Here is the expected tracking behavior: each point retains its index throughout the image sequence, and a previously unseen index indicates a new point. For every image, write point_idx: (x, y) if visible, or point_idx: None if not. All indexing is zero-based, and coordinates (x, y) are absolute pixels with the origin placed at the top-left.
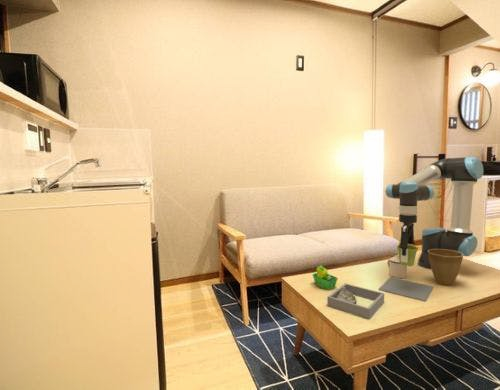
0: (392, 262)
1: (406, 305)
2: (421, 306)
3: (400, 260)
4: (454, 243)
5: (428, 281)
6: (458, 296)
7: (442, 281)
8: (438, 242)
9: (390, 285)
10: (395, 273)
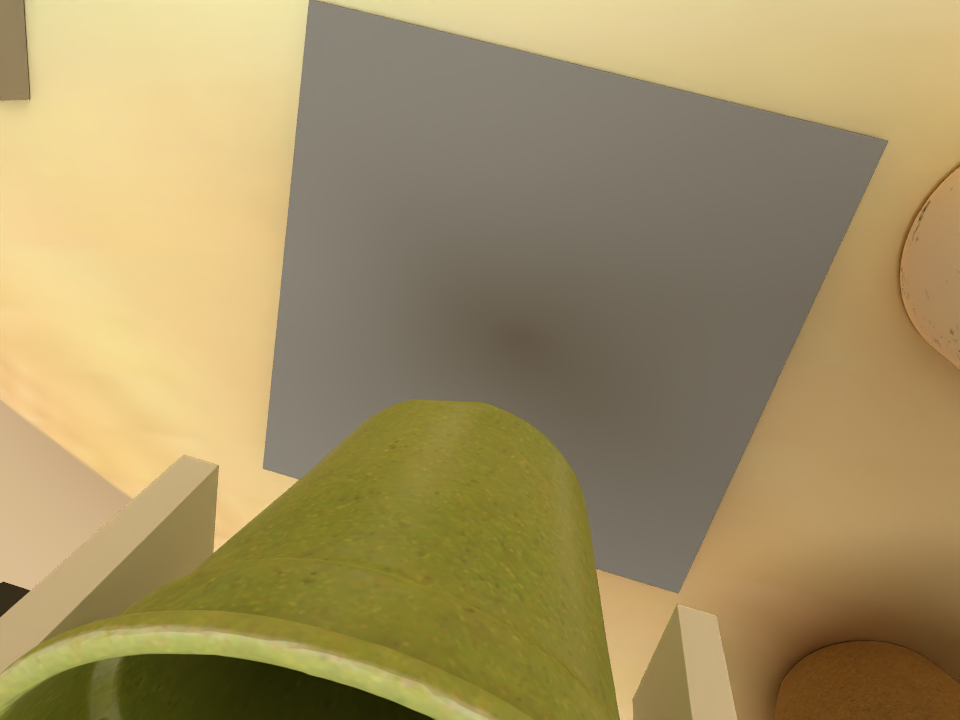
0: None
1: (93, 305)
2: (153, 419)
3: (336, 447)
4: None
5: (860, 575)
6: None
7: (783, 701)
8: None
9: (507, 153)
10: (942, 228)
